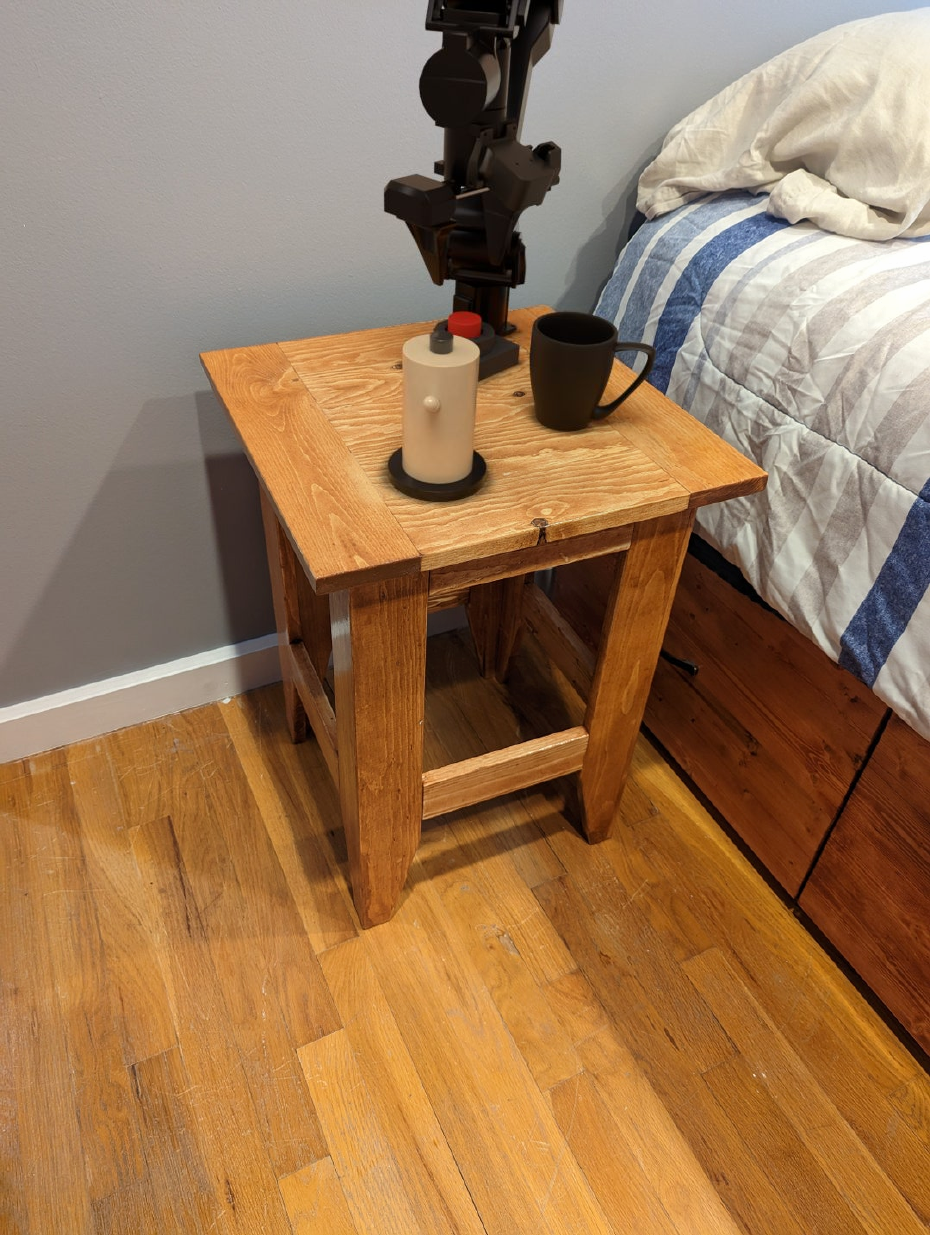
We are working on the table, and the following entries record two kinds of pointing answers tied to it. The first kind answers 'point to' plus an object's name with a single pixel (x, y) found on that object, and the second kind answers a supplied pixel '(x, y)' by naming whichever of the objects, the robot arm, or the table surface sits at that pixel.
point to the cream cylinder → (439, 406)
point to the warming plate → (436, 491)
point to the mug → (576, 368)
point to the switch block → (490, 350)
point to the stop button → (464, 324)
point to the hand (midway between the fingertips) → (467, 274)
